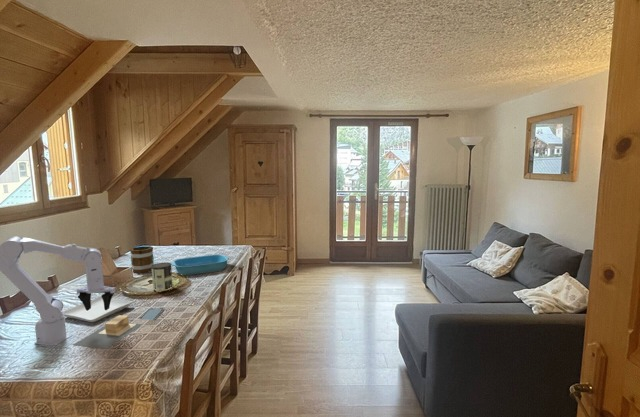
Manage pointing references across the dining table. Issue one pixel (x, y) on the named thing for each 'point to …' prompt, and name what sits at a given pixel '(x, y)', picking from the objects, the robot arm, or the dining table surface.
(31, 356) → the dining table surface
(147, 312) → the smartphone
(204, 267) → the casserole dish
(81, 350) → the dining table surface
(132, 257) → the mug
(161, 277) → the coffee can
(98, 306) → the salad plate
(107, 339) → the mat
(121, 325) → the pine block
